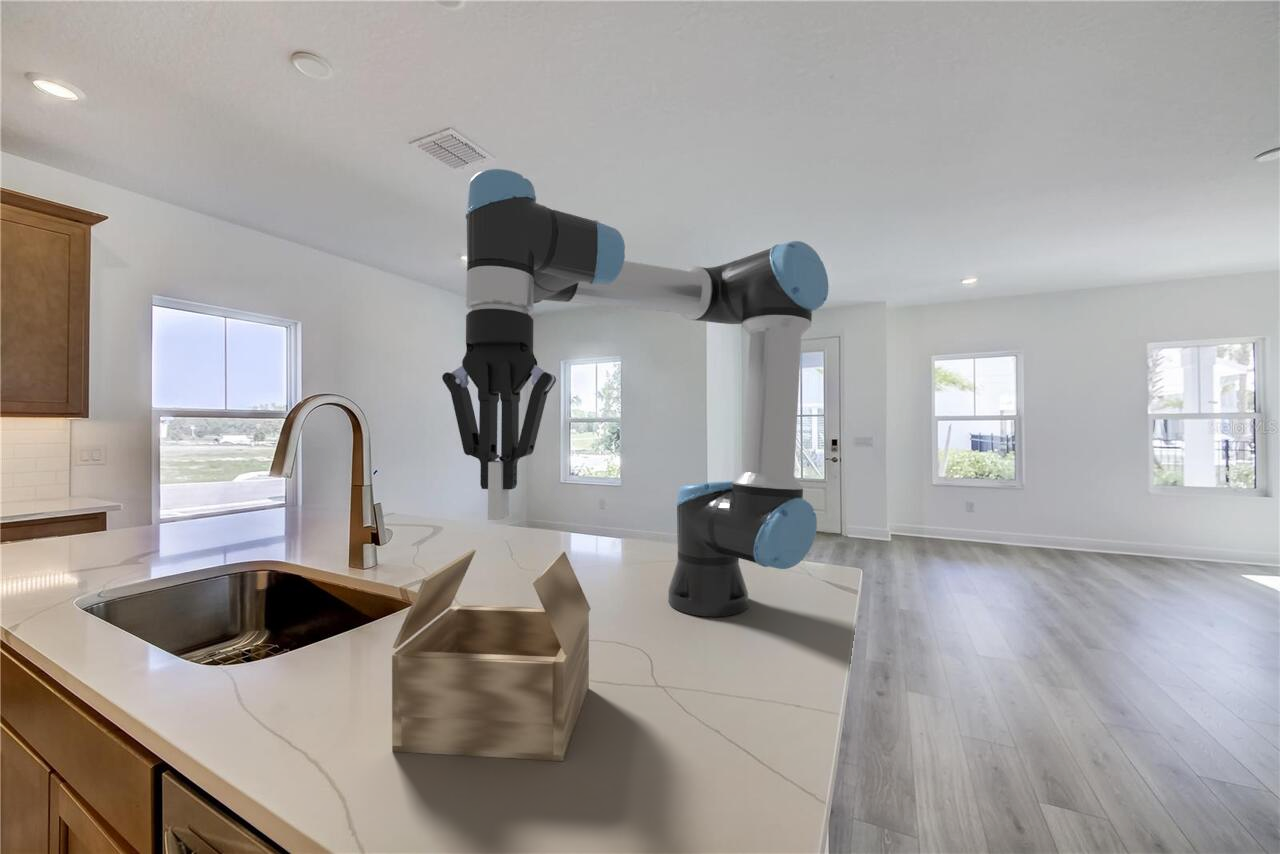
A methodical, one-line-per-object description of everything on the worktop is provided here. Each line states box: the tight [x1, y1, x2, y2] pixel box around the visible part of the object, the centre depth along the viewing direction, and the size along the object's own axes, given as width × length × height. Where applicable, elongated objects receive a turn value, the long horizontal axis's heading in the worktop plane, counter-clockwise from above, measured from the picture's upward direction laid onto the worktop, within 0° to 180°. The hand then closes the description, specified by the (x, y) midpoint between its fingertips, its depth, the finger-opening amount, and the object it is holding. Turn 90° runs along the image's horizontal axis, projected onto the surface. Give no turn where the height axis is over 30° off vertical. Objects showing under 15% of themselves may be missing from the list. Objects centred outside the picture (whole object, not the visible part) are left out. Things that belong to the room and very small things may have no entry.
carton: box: [391, 604, 590, 762], centre depth 58 cm, size 18×15×10 cm
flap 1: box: [392, 548, 477, 650], centre depth 58 cm, size 8×13×1 cm
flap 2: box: [532, 550, 591, 655], centre depth 57 cm, size 8×13×1 cm
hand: (498, 517), depth 58 cm, fingers closed
